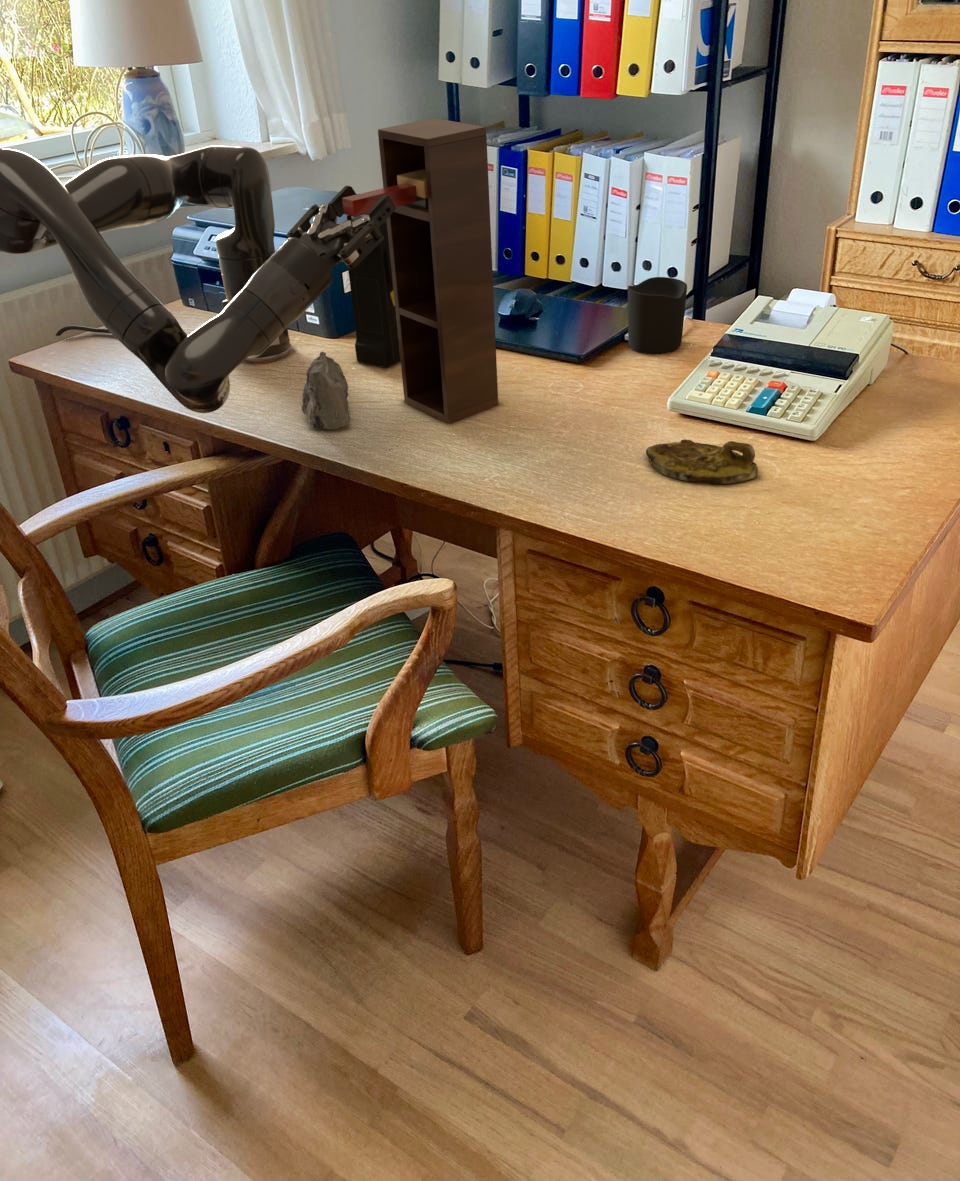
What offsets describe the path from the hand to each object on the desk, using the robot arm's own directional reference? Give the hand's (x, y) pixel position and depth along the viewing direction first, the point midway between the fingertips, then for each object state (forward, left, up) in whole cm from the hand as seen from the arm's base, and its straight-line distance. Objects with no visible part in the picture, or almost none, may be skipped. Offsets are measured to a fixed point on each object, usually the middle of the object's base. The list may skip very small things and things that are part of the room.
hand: (371, 195), depth 132 cm
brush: (+2, +4, -2) cm, 6 cm away
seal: (+45, -2, -32) cm, 55 cm away
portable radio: (-12, +23, -32) cm, 41 cm away
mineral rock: (-11, +1, -32) cm, 34 cm away
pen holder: (+30, +39, -32) cm, 59 cm away
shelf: (+5, +9, -32) cm, 34 cm away
